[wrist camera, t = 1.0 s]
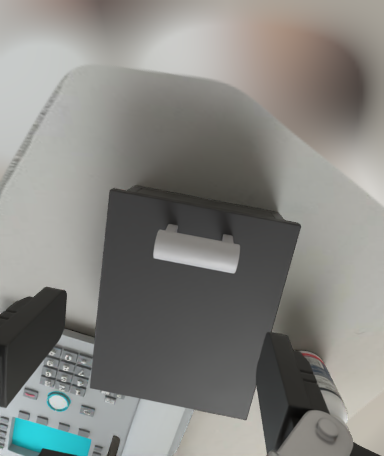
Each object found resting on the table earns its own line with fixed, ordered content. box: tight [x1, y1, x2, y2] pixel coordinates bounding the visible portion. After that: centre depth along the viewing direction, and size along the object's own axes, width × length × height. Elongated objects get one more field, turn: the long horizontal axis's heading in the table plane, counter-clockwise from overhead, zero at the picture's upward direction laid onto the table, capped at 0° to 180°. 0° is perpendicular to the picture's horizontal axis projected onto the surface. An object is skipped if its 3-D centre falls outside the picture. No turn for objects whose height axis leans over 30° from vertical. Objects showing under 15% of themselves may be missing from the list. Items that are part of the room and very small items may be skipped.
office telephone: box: [0, 329, 194, 456], centre depth 37 cm, size 23×3×20 cm
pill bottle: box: [300, 351, 350, 432], centre depth 30 cm, size 5×5×9 cm
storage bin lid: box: [90, 188, 301, 420], centre depth 23 cm, size 18×14×5 cm
